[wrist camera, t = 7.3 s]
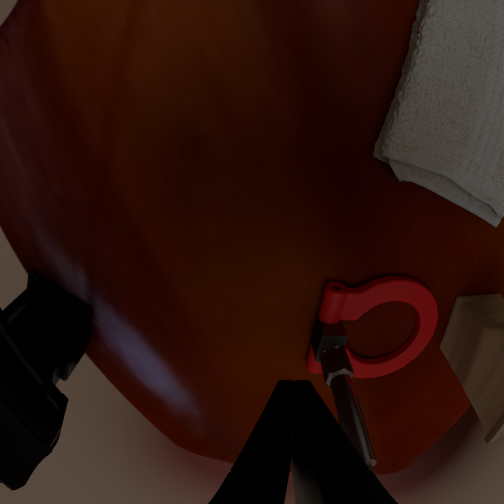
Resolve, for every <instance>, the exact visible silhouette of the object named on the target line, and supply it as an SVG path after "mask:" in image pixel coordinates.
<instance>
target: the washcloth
mask: <svg viewBox="0 0 504 504" xmlns="http://www.w3.org/2000/svg"><path fill="white" fill-rule="evenodd" d="M418 6H419V8H418V10H417V12H416V14H415V16H416V21H415V22H414V24H413V25H412V28H411V30H412V33H411V39H410V42H409V48H408V55H407V56H406V59H405V63H404V65H403V67H402V75H401V79H400V81H399V84H398V86H397V88H396V91H395V97H394V99H393V100H392V102H391V106H390V108H389V112H388V113H387V117H386V119H385V123H384V125H382V129H381V131H380V135H379V138H378V140H377V141H376V143H375V148H374V152H373V156H374V157H376V158H378V159H379V160H381V161H383V162H385V163H387V164H389V165H390V166H391V168H392V169H393V171H394V173H395V175H396V177H397V178H398V180H399V181H402V180H403V181H411V182H414V183H416V184H418V185H420V186H423V187H425V188H427V189H429V190H431V191H433V192H435V193H437V194H438V195H441V196H442V197H444V198H446V199H448V200H450V201H451V202H453V203H455V204H457V205H459V206H461V207H463V208H465V209H467V210H468V211H470V212H472V213H474V214H475V215H477V216H479V217H480V218H482V219H484V220H485V221H487V222H488V223H490V224H492V225H493V226H494V227H497V226H498V224H499V223H500V222H501V218H502V217H503V216H504V0H420V3H419V4H418Z"/></svg>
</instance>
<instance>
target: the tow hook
mask: <svg viewBox="0 0 504 504" xmlns="http://www.w3.org/2000/svg"><path fill="white" fill-rule="evenodd" d="M389 301H403V302H406V303H409V304H411V305H412V306H413V307H414V308H415V309H416V314H417V321H416V326H415V328H414V331H413V333H412V335H411V336H410V338H409V339H408V340H407V341H406V342H405V343H404V344H403V345H402V346H401V347H400V348H399V349H397V350H396V351H394V352H392V353H390V354H388V355H386V356H383V357H379V358H371V359H367V358H361V357H359V356H357V355H355V354H353V353H352V352H351V351H350V350H349V349H348V347H347V344H346V340H347V335H346V332H345V330H344V327H343V324H342V322H341V320H350V321H355V320H357V319H359V318H360V317H361V316H362V315H363V314H364V313H365V312H367V311H368V310H370V309H371V308H373V307H375V306H377V305H379V304H381V303H385V302H389ZM437 319H438V309H437V302H436V300H435V299H434V297H433V295H432V293H431V292H430V291H429V289H428V288H427V287H426V286H424V285H423V284H422V283H421V282H419V281H418V280H416V279H413V278H410V277H407V276H388V277H383V278H379V279H375V280H373V281H371V282H368V283H366V284H364V285H362V286H360V287H358V288H347V287H346V286H345V285H343V284H340V283H337V282H329V283H327V284H326V286H325V290H324V295H323V299H322V303H321V307H320V311H319V314H318V315H317V317H316V321H315V325H314V329H313V333H312V336H311V346H310V350H309V353H308V357H307V361H306V364H305V368H306V369H307V371H309V372H310V373H313V374H319V373H322V372H323V376H324V380H325V383H326V384H327V385H328V386H330V387H331V390H332V394H333V398H334V402H335V406H336V410H337V414H338V418H339V423H340V426H341V427H342V429H343V430H344V432H345V433H346V435H347V436H348V438H349V439H350V440H351V442H352V443H353V445H354V446H355V448H356V449H357V450H358V452H359V453H360V455H361V456H362V458H363V459H364V460H365V462H366V463H367V465H368V466H369V470H372V472H373V473H374V469H373V466H374V465H375V464H376V458H375V455H374V451H373V448H372V444H371V441H370V437H369V434H368V431H367V427H366V424H365V421H364V417H363V414H362V411H361V408H360V404H359V401H358V398H357V395H356V392H355V389H354V386H353V382H352V378H353V377H357V378H374V377H379V376H383V375H386V374H390V373H392V372H394V371H396V370H398V369H400V368H402V367H404V366H405V365H406V364H408V363H409V362H411V361H412V360H413V359H414V358H416V357H417V356H418V355H419V354H420V353H421V351H422V350H423V349H424V348H425V347H426V345H427V344H428V342H429V341H430V339H431V338H432V335H433V333H434V331H435V328H436V326H437ZM374 474H375V473H374Z"/></svg>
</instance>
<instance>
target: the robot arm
mask: <svg viewBox="0 0 504 504" xmlns="http://www.w3.org/2000/svg"><path fill="white" fill-rule="evenodd" d="M85 310H86V311H87V312H88V313H87V312H86V311H85ZM92 313H93V311H92V309H91V307H90V306H88V305H87V304H85V303H83V302H82V301H80V300H79V299H77V298H75V297H74V296H72V295H71V294H69V293H67V292H66V291H64V290H63V289H61V288H60V287H58V286H57V285H55V284H54V283H52V282H51V281H49V280H48V279H46V278H45V277H43V276H42V275H40V274H39V273H37V272H36V271H32V272H30V273H29V275H28V282H27V289H26V290H25V291H23V292H22V294H20V295H19V296H18V297H17V298H16V299H15V300H13V301H12V302H11V303H10V304H9V305H8V306H7V307H6V308H5V309H4V310H3V311H2V310H1V308H0V483H3V484H4V485H6V486H7V487H8V488H10V489H11V490H16V489H19V488H20V487H23V486H24V485H25V484H26V483H27V481H28V479H29V477H30V476H31V474H32V472H33V471H34V469H35V468H36V466H37V465H38V464H39V463H40V462H41V461H42V460H43V459H44V458H45V457H46V456H48V455H49V454H50V453H51V452H52V450H53V448H54V446H55V445H56V443H57V441H58V439H59V436H60V431H61V427H62V423H63V419H64V415H65V411H66V407H67V403H68V398H67V397H66V396H65V395H64V394H62V393H61V392H60V390H59V389H58V388H57V387H56V386H55V385H56V383H57V382H58V381H59V379H62V380H63V381H65V380H67V379H68V378H69V376H70V375H71V373H72V371H73V370H74V368H75V367H76V365H77V364H78V362H79V361H80V359H81V358H82V356H83V355H84V353H85V352H86V349H87V345H88V341H89V338H90V334H91V333H90V330H88V328H89V324H90V320H91V317H92ZM290 464H291V465H292V474H293V483H294V491H295V500H296V504H398V503H397V502H396V501H395V500H394V498H392V497H391V495H390V494H389V493H388V492H387V490H386V489H385V488H384V487H383V485H382V484H381V483H380V481H379V480H378V479H377V477H376V476H375V474H374V473H373V472H372V470H369V466H368V465H367V463H366V462H365V460H364V459H363V458H362V456H361V455H360V453H359V452H358V450H357V449H356V448H355V446H354V445H353V443H352V442H351V440H350V439H349V438H348V436H347V435H346V433H345V432H344V430H343V429H342V427H341V426H340V425H339V423H338V422H337V420H336V419H335V417H334V416H333V414H332V413H331V411H330V410H329V409H328V407H327V406H326V404H325V403H324V401H323V400H322V398H321V397H320V395H319V394H318V392H317V391H316V389H315V388H314V387H313V385H312V384H311V382H310V381H308V380H296V381H293V380H279V381H278V383H277V385H276V387H275V389H274V391H273V393H272V395H271V397H270V399H269V401H268V402H267V404H266V406H265V408H264V410H263V412H262V414H261V416H260V418H259V420H258V422H257V423H256V425H255V427H254V429H253V431H252V433H251V435H250V436H249V438H248V440H247V442H246V444H245V445H244V447H243V449H242V451H241V453H240V454H239V456H238V458H237V460H236V461H235V463H234V465H233V467H232V468H231V470H230V472H229V473H228V475H227V476H226V478H225V480H224V481H223V483H222V485H221V486H220V488H219V489H218V491H217V492H216V494H215V495H214V497H213V498H212V499H211V501H210V502H209V503H208V504H284V501H285V495H286V489H287V483H288V477H289V471H290Z"/></svg>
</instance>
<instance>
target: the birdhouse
mask: <svg viewBox="0 0 504 504" xmlns="http://www.w3.org/2000/svg"><path fill="white" fill-rule="evenodd" d="M440 349H441V351H442V352H443V354H444V356H445V357H446V359H447V361H448V362H449V364H450V366H451V367H452V369H453V371H454V373H455V374H456V376H457V378H458V380H459V381H460V383H461V385H462V387H463V389H464V390H465V392H466V394H467V396H468V398H469V400H470V402H471V403H472V405H473V407H474V409H475V411H476V413H477V415H478V417H479V419H480V421H481V423H482V425H483V427H484V429H485V431H486V433H487V436H486V437H485V440H486V443H487V444H491V443H493V442H496V441H498V440H501V439H503V438H504V298H503V297H502V296H501V295H500V294H489V295H475V296H460V297H457V298H456V301H455V305H454V308H453V311H452V314H451V317H450V320H449V322H448V325H447V328H446V331H445V334H444V336H443V339H442V342H441V344H440Z"/></svg>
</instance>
